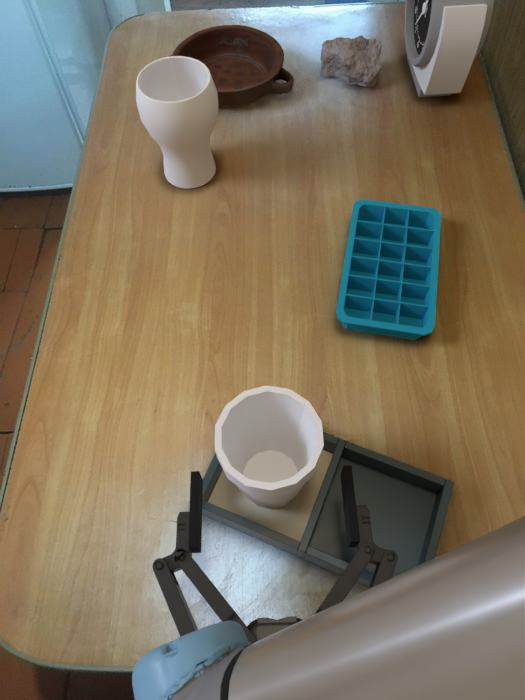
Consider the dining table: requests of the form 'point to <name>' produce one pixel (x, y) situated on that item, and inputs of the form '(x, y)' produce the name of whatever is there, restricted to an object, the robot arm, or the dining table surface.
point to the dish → (239, 62)
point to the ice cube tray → (390, 270)
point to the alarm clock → (444, 42)
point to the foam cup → (269, 444)
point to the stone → (352, 60)
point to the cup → (180, 116)
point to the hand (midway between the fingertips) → (271, 472)
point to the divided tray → (341, 509)
